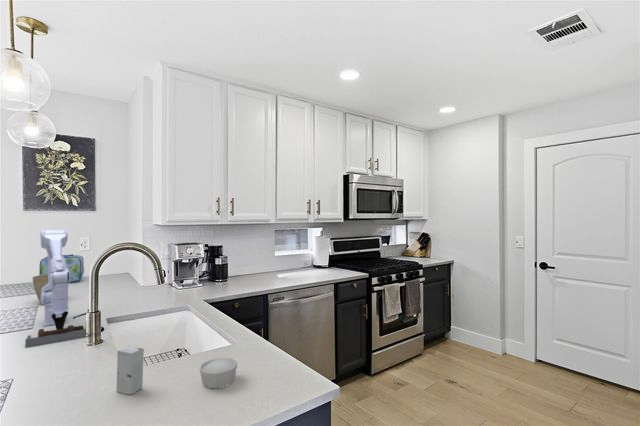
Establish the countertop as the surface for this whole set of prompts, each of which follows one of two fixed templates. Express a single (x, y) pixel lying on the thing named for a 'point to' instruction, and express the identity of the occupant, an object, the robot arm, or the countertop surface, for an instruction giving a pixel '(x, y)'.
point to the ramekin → (218, 372)
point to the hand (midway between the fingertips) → (60, 329)
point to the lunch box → (73, 265)
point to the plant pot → (40, 284)
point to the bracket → (54, 338)
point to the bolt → (59, 330)
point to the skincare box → (129, 369)
